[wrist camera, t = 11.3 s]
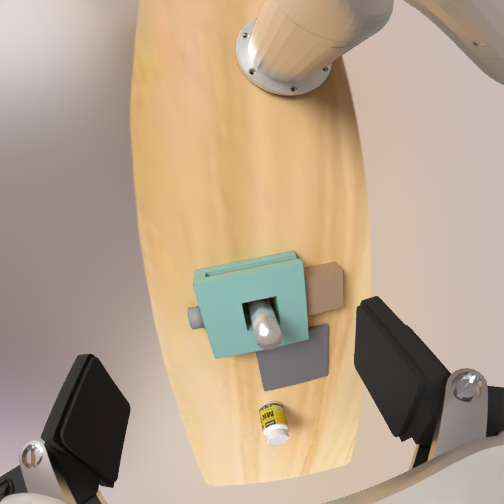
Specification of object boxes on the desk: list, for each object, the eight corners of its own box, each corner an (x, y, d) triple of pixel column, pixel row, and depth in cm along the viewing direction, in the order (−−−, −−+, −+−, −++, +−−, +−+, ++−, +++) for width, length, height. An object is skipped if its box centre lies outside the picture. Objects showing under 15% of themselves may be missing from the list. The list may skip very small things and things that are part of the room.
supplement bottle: (269, 398, 47) (277, 431, 39) (287, 404, 49) (297, 436, 41) (253, 410, 48) (260, 444, 40) (271, 416, 49) (279, 448, 42)
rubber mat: (326, 323, 43) (327, 325, 42) (326, 373, 47) (327, 375, 46) (253, 340, 42) (254, 343, 41) (263, 389, 46) (264, 391, 45)
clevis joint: (333, 242, 38) (347, 253, 34) (335, 313, 42) (346, 328, 38) (180, 272, 36) (177, 287, 32) (201, 342, 41) (201, 361, 36)
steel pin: (258, 284, 39) (272, 324, 29) (271, 297, 40) (288, 339, 30) (242, 297, 39) (251, 339, 30) (255, 310, 40) (267, 353, 31)
